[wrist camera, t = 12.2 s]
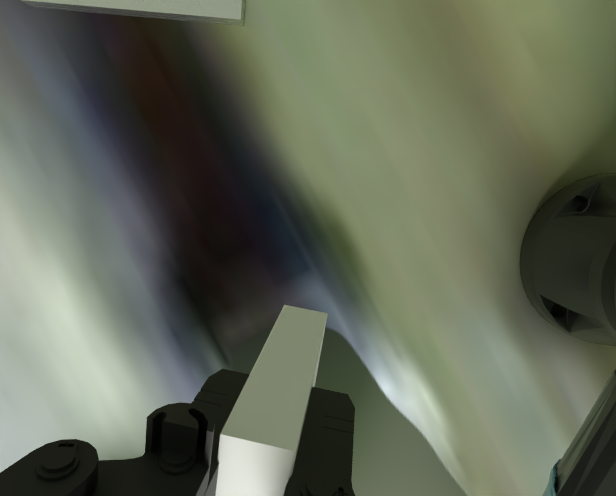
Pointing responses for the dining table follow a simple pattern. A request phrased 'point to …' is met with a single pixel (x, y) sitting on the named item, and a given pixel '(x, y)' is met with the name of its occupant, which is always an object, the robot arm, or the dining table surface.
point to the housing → (156, 9)
